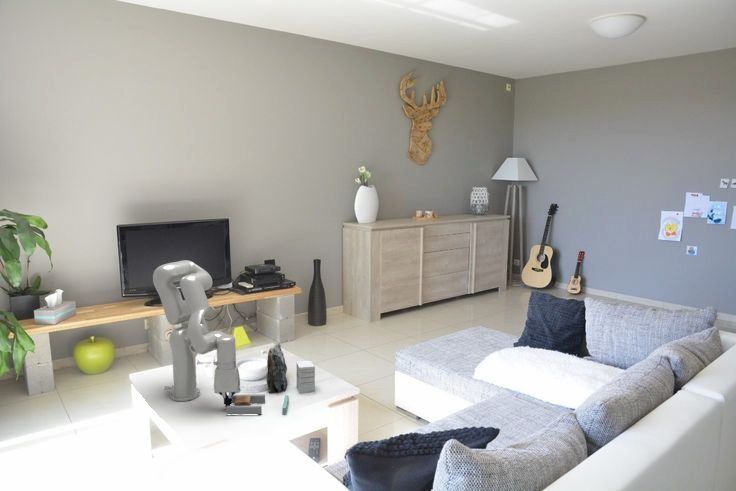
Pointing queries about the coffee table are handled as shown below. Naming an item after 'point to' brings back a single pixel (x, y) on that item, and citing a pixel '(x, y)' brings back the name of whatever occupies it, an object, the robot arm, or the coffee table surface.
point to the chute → (247, 409)
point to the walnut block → (242, 401)
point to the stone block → (276, 369)
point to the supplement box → (305, 377)
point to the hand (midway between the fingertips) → (227, 405)
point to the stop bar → (285, 405)
